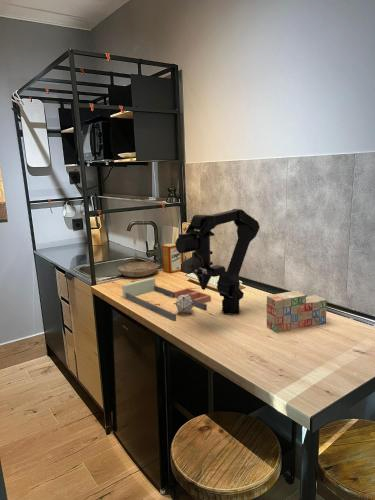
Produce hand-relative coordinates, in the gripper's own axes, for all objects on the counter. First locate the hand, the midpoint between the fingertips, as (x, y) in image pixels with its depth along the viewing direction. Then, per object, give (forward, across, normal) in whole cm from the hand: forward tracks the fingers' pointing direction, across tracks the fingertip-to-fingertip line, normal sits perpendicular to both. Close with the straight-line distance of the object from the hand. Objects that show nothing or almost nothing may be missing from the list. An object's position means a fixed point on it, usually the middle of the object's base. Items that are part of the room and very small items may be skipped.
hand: (203, 289), depth 141 cm
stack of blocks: (+13, +26, +22) cm, 36 cm away
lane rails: (+13, -27, 0) cm, 30 cm away
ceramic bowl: (+13, -78, +19) cm, 81 cm away
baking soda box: (+13, -68, +36) cm, 78 cm away
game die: (+13, -12, 0) cm, 18 cm away
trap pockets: (+13, -23, +13) cm, 29 cm away
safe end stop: (+13, -47, 0) cm, 48 cm away
